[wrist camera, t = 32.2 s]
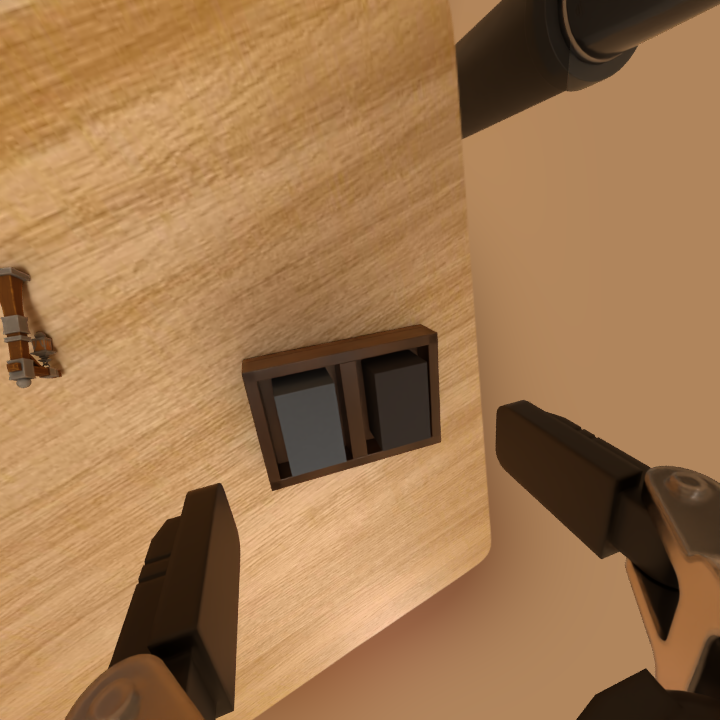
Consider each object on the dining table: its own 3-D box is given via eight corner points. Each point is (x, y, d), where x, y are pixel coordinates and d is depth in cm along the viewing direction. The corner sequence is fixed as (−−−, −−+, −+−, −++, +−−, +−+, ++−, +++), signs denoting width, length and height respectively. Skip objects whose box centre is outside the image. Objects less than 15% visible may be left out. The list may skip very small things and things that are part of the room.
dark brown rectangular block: (408, 348, 34) (427, 361, 31) (413, 418, 37) (431, 438, 34) (360, 359, 33) (374, 374, 30) (369, 430, 36) (382, 451, 32)
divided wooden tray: (420, 324, 35) (437, 332, 32) (426, 426, 39) (441, 442, 36) (242, 359, 31) (241, 373, 28) (270, 468, 35) (272, 491, 32)
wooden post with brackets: (46, 391, 26) (-2, 391, 22) (26, 290, 27) (-25, 270, 22) (73, 385, 27) (31, 384, 23) (53, 286, 27) (8, 265, 23)
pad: (325, 366, 32) (334, 382, 29) (337, 438, 35) (346, 461, 32) (271, 378, 31) (273, 396, 28) (287, 452, 34) (292, 477, 31)
